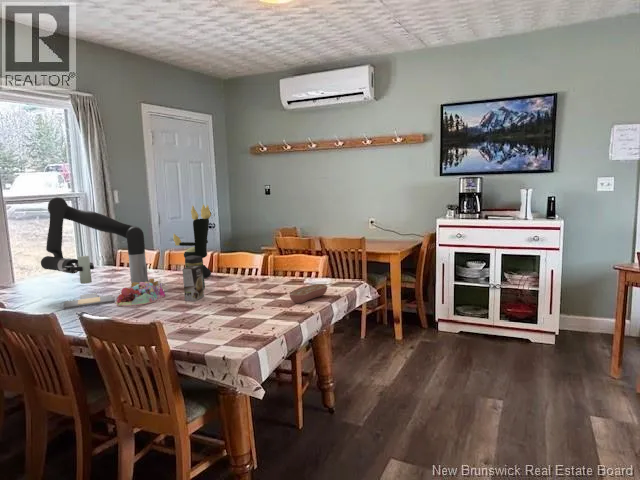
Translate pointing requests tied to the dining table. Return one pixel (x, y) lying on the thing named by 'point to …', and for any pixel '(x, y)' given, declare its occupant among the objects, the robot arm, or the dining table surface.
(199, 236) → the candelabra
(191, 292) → the coffee box
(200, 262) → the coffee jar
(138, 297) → the candy landscape model
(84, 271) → the grey-green rectangular block
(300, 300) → the brown planter trough
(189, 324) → the dining table surface
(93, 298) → the t board
